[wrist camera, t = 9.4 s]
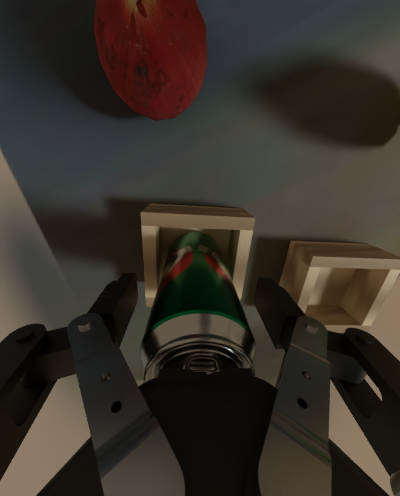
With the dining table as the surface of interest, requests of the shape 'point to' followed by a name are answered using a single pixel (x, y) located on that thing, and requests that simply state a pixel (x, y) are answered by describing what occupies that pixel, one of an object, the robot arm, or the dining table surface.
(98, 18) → the onion
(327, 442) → the robot arm
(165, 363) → the soda can
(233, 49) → the dining table surface
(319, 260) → the oak endcap
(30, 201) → the dining table surface
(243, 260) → the oak endcap
